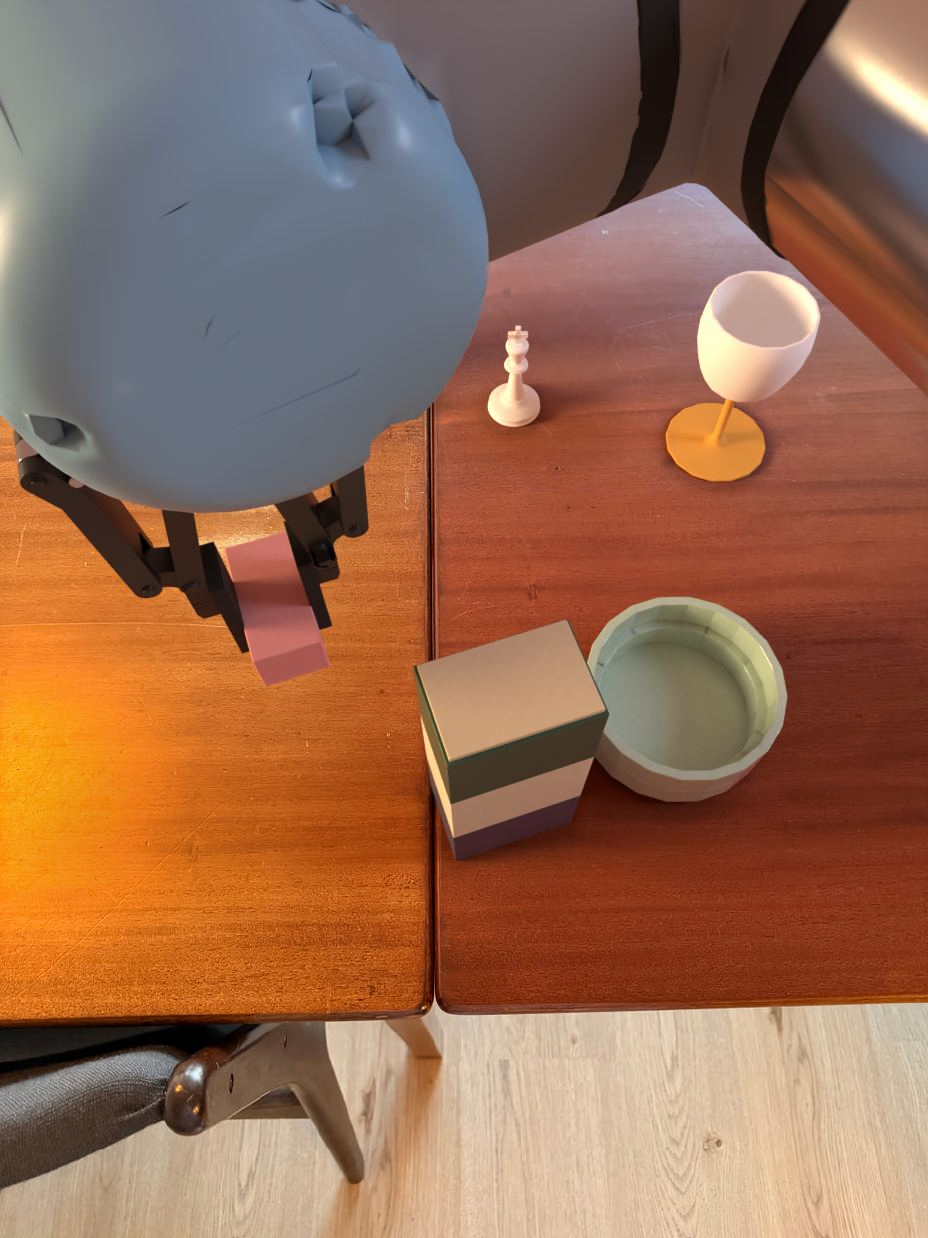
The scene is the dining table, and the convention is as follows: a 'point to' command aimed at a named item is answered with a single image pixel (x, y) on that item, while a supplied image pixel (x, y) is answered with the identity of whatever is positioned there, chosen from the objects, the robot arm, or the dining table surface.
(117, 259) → the robot arm
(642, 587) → the dining table surface
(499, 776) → the book stack
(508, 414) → the chess piece
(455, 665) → the felt pad
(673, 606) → the bowl
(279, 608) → the eraser
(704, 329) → the cup
